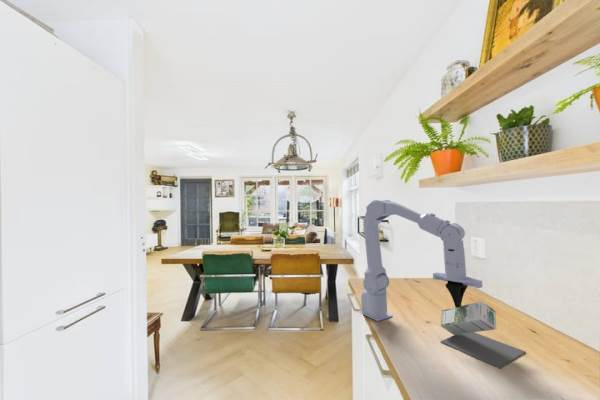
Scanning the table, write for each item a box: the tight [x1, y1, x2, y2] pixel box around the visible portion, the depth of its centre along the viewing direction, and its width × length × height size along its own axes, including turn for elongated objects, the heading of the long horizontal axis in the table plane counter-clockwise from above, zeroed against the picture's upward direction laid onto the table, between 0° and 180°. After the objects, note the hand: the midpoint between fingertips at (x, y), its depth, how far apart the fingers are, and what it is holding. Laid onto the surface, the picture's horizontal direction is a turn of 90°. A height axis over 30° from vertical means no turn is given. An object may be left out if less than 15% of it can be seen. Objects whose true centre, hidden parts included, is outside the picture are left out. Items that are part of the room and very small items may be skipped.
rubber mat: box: [440, 332, 527, 369], centre depth 80 cm, size 16×14×1 cm
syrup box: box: [440, 301, 497, 336], centre depth 83 cm, size 6×6×14 cm
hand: (458, 306), depth 86 cm, fingers closed, pressing on syrup box
